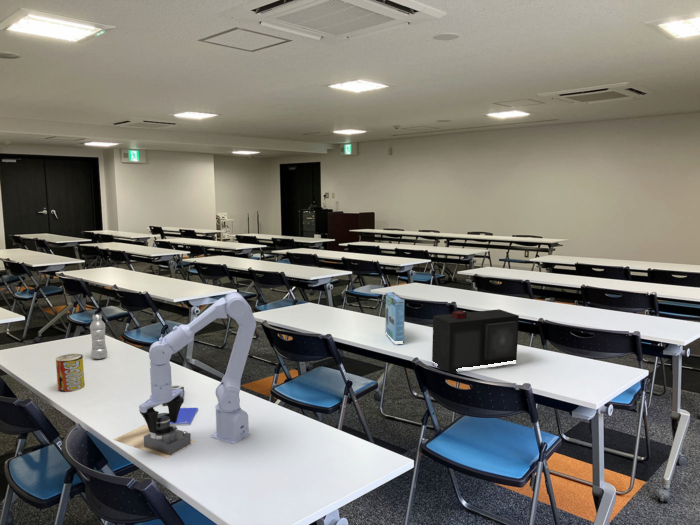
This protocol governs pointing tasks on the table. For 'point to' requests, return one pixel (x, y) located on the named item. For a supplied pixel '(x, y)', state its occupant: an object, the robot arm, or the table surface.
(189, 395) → the table surface
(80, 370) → the tin can
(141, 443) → the cork mat
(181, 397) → the electronic device
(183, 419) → the hard drive
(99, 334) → the plastic bottle
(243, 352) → the robot arm
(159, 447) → the block with segmented ring
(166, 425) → the lens
